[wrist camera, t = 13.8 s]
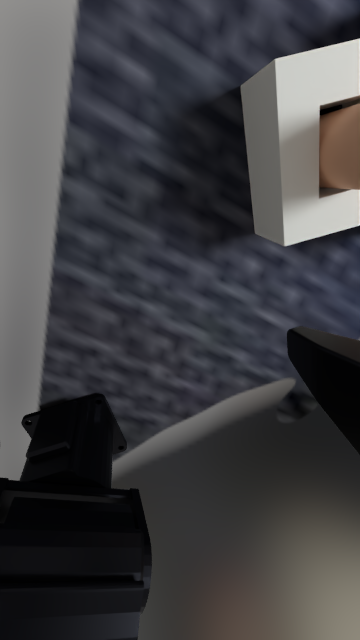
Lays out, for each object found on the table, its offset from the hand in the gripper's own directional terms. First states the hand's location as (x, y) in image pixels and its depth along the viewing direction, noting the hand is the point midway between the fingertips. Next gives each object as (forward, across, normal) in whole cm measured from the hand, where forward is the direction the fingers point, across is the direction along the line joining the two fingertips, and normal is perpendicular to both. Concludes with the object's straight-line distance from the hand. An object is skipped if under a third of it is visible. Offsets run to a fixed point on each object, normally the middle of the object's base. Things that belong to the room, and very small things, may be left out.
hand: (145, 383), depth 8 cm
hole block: (+12, -12, -4) cm, 18 cm away
